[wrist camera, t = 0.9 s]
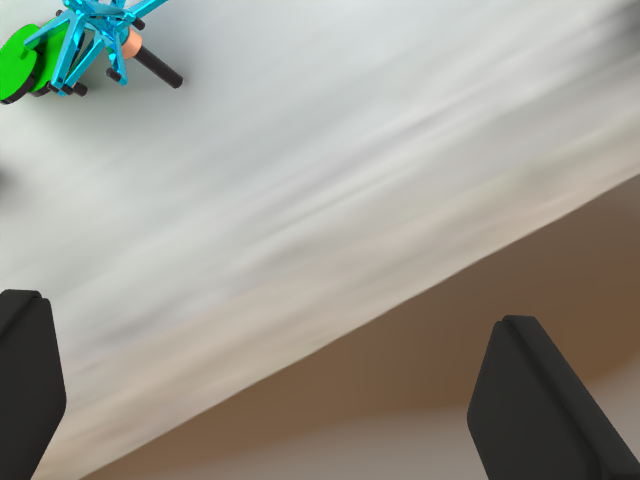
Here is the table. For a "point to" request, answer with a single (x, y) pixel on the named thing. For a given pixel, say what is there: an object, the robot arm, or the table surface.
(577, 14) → the table surface
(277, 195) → the table surface
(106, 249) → the table surface
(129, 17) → the stick construction toy
